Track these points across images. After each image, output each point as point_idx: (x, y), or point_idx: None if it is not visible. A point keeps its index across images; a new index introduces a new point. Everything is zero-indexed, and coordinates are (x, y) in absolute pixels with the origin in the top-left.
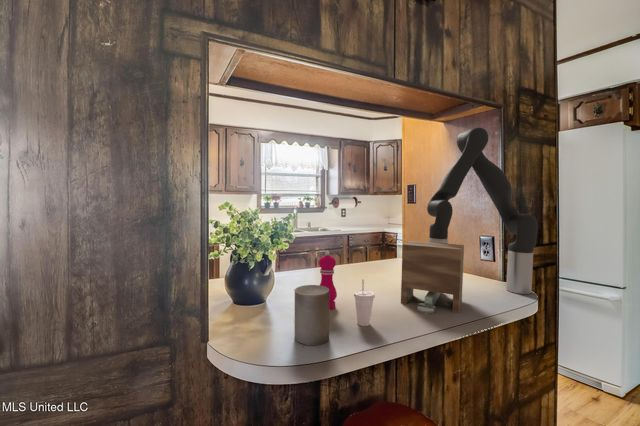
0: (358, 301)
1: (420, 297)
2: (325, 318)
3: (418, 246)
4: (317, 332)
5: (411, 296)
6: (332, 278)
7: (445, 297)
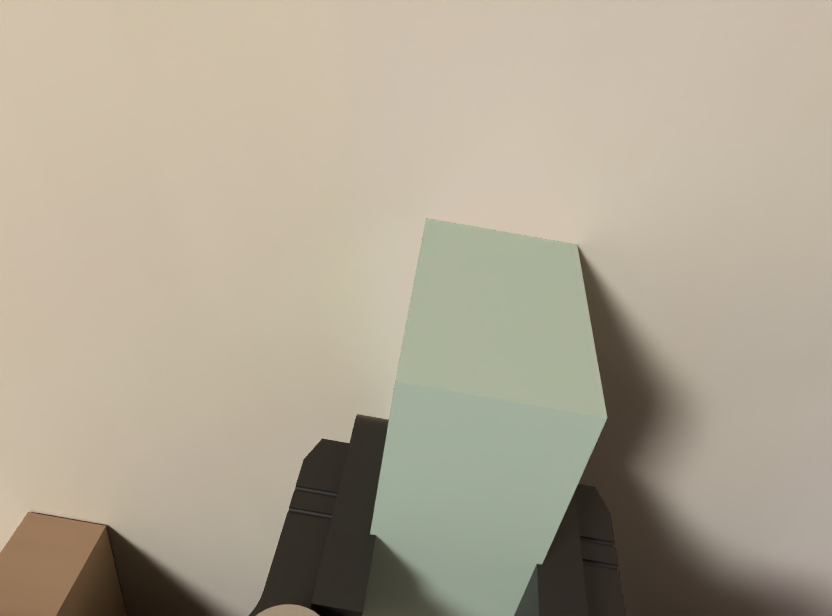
0: None
1: (226, 568)
2: None
3: None
4: None
5: (114, 607)
6: None
7: (612, 501)
